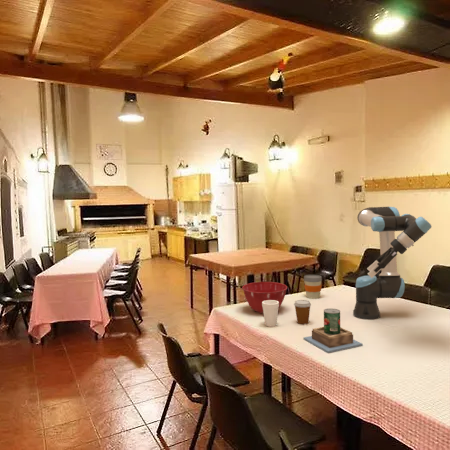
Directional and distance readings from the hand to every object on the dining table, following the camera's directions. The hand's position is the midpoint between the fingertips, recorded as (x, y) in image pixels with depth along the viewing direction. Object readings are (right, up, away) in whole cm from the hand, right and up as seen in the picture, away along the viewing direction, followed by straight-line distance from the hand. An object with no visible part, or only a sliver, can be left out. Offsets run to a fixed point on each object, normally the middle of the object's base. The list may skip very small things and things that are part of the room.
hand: (369, 273), depth 200 cm
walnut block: (-19, -34, -4) cm, 39 cm away
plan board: (-19, -34, -4) cm, 39 cm away
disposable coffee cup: (-28, -32, +29) cm, 51 cm away
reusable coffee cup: (-10, -27, +84) cm, 89 cm away
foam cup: (-46, -33, +27) cm, 62 cm away
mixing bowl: (-46, -31, +56) cm, 79 cm away
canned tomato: (-20, -29, -4) cm, 35 cm away
